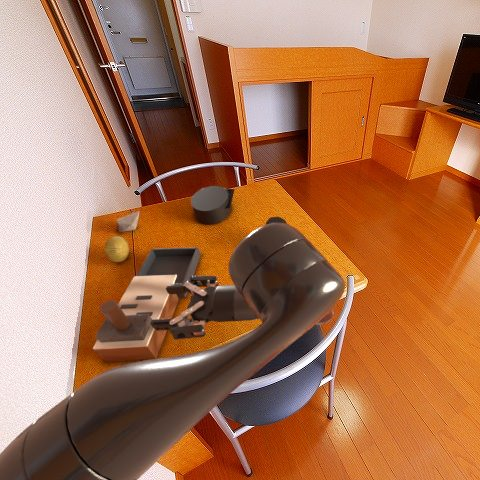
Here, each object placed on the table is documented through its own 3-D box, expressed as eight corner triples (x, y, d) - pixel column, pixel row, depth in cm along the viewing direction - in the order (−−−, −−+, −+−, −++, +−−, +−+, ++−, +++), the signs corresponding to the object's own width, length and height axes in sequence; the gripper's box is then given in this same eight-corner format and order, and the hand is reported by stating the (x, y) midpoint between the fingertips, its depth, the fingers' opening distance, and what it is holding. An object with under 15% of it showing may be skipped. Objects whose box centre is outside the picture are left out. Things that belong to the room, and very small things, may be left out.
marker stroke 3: (151, 316, 65) (151, 315, 65) (135, 316, 64) (135, 316, 64) (153, 312, 66) (152, 311, 65) (137, 313, 65) (137, 312, 65)
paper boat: (104, 231, 95) (114, 211, 100) (123, 240, 99) (132, 220, 105) (124, 220, 90) (133, 199, 95) (143, 229, 94) (151, 209, 100)
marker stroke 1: (136, 308, 66) (135, 307, 66) (120, 308, 66) (119, 308, 66) (137, 304, 67) (137, 303, 67) (122, 305, 67) (121, 304, 67)
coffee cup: (291, 241, 96) (290, 217, 90) (282, 253, 91) (280, 229, 85) (274, 235, 98) (271, 212, 91) (263, 247, 93) (260, 224, 86)
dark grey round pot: (190, 227, 102) (184, 211, 96) (201, 198, 114) (196, 183, 109) (230, 227, 103) (227, 211, 98) (236, 198, 116) (234, 183, 111)
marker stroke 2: (151, 299, 68) (150, 298, 68) (135, 299, 68) (135, 299, 68) (152, 295, 69) (152, 295, 69) (137, 296, 69) (137, 295, 69)
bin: (185, 297, 76) (182, 289, 74) (131, 299, 75) (126, 292, 73) (200, 254, 89) (198, 247, 87) (155, 256, 88) (151, 248, 86)
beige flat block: (156, 358, 63) (146, 345, 59) (105, 361, 62) (92, 348, 58) (182, 288, 79) (176, 274, 75) (142, 290, 78) (134, 276, 74)
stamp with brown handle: (144, 340, 60) (125, 315, 54) (100, 342, 59) (77, 317, 53) (152, 320, 64) (136, 294, 58) (111, 322, 63) (91, 296, 57)
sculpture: (121, 250, 90) (110, 231, 85) (134, 249, 90) (124, 230, 85) (110, 268, 84) (97, 248, 79) (124, 267, 84) (112, 247, 79)
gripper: (241, 266, 61) (165, 268, 60) (230, 322, 50) (138, 326, 49) (246, 287, 66) (176, 290, 65) (237, 343, 55) (153, 347, 54)
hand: (160, 306), depth 57 cm, fingers open, 8 cm apart
